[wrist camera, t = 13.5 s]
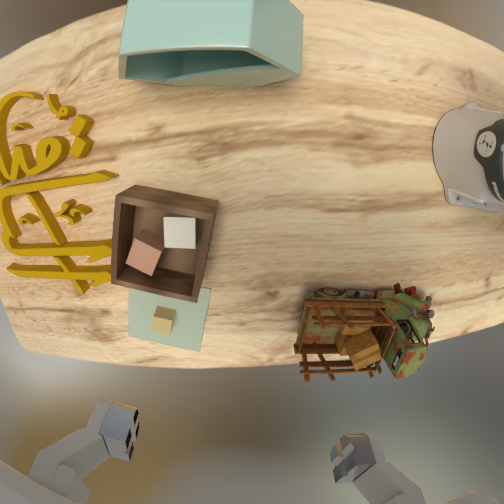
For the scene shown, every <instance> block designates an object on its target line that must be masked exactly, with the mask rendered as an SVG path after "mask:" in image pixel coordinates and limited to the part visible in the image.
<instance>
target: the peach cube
mask: <svg viewBox="0 0 504 504" xmlns="http://www.w3.org/2000/svg"><path fill="white" fill-rule="evenodd" d="M164 250H165V244H164V238H162V237H160V236H158V235H156V234H154V233H152V232H150V231H148V230H146V229H143V230H142V231H141V232H140V233H139V234H138V235H137V236H136V237H135V238H134V241H133V244H132V247H131V249H130V252H129V255H128V258H127V261H126V264H128V265H130V266H132V267H134V268H136V269H138V270H140V271H142V272H144V273H146V274H148V275H150V276H152V274H153V273H154V271H155V269H156V268H157V266H158V264H159V262H160V260H161V257H162V255H163V253H164Z"/></svg>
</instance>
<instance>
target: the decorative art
mask: <svg viewBox="0 0 504 504" xmlns="http://www.w3.org/2000/svg"><path fill="white" fill-rule="evenodd" d="M22 97H30V98H35V99H44V98H43V96H42V95H40V94H37V93H33V92H14V93H10V94H8V95H6V96H5V97H3V98H2V99H1V100H0V184H2V185H3V184H5V183H8V182H10V180H16V179H19V178H22V177H25V173H26V174H28V175H36V174H39V173H42V172H45V171H47V170H49V169H51V168H53V167H55V166H57V165H58V164H59V163H60V162H62V161H63V160H64V159H65V158H66V157H67V155H68V153H70V154H71V155H73V156H74V157H75V158H77V159H79V158H83V157H86V156H87V154H88V153H89V151H90V149H91V147H92V145H93V143H94V141H92V140H91V139H90V138H88V137H87V136H86V135H87V134H88V132H89V131H90V129H91V127H92V125H93V123H94V121H93V120H92V119H91V118H89V117H88V116H87V115H79V114H78V115H77V117H76V119H75V121H74V123H73V125H72V126H71V128H70V129H69V132H70V133H71V134H73V135H74V136H76V139H75V141H74V143H73V145H72V147H71V149H70V143H69V141H68V140H67V139H66V138H64V137H61V136H54V137H46V138H43V139H42V140H40V141H39V143H38V145H37V148H36V155H37V163H38V164H37V165H36V163H35V160H34V157H33V154H32V150H31V146H30V145H26V144H19V145H14V151H13V158H12V157H11V154H10V151H9V147H8V142H7V136H6V123H7V117H8V114H9V111H10V109H11V108H12V106H13V105H14V103H15V102H16V101H17V100H19V99H20V98H22ZM47 98H48V104H49V107H50V110H51V111H52V112H53V113H54V114H56V115H57V116H56V117H57V118H58V119H59V120H68V118H69V116H75V115H76V109H75V108H74V107H71V106H61V105H60V103H59V100H58V95H55V94H48V96H47ZM26 128H33V126H32V125H30V124H28V123H19V124H13V125H12V127H11V130H12V131H17V130H25V129H26ZM116 176H118V174H115V173H112V172H109V171H106V170H103V171H99V172H95V173H89V174H82V175H74V176H66V177H59V178H52V179H45V180H39V181H33V182H27V183H21V184H16V185H11V186H8V187H5V188H3V189H1V190H0V222H1V224H2V226H3V228H4V231H3V233H2V241H3V244H4V246H5V247H6V248H7V249H8V250H9V251H10V252H12V253H13V254H16V255H19V256H54V258H55V259H56V261H57V262H58V263H59V264H60V266H57V265H20V264H15V263H13V264H11V265H10V266H9V267H7V268H6V269H7V270H9V271H10V272H11V273H13V274H15V275H17V276H20V277H30V278H50V279H71V281H72V282H73V284H74V285H75V286H76V288H77V290H78V291H79V292H81V293H83V294H84V293H85V292H86V291H87V290H88V289H89V287H90V286H92V287H94V286H97V285H100V284H103V283H106V282H109V281H111V265H105V266H76V265H75V263H74V262H73V261H72V259H71V258H70V257H69V256H70V255H92V256H91V257H90V258H89V259H88V260H87V261H86V262H90V263H91V262H94V261H96V260H99V259H101V258H104V257H107V256H109V255H112V240H111V239H109V240H103V241H84V242H66V241H67V239H66V237H65V235H64V233H63V231H62V229H61V228H60V226H59V224H58V222H57V220H56V218H55V217H54V215H53V213H52V211H51V209H50V208H49V206H48V204H47V203H46V201H45V200H44V198H43V196H42V195H41V194H40V192H39V191H40V190H46V189H52V188H58V187H65V186H72V185H79V184H87V183H95V182H101V181H105V180H108V179H110V178H113V177H116ZM28 192H30V193H28ZM21 193H27V194H26V195H27V197H28V198H29V200H30V201H31V203H32V204H33V206H34V208H35V209H36V211H37V213H38V214H39V216H40V218H41V220H42V222H43V223H44V225H45V227H46V229H47V230H48V232H49V234H50V236H51V237H52V239H53V241H54V243H36V244H19V242H18V240H17V236H19V235H21V234H22V233H21V231H20V229H19V227H18V225H17V223H16V220H15V218H14V215H13V212H12V209H11V204H10V199H11V196H12V195H15V194H21ZM75 204H76V200H74V199H72V200H70V201H68V202H65V203H63V204H62V206H61V207H62V210H61V211H60V212H58V213H56V214H55V216H60V217H64V218H67V219H68V220H69V221H70V223H69V224H70V225H73V224H75V223H76V222H78V221H80V220H81V216H80V215H79V214H80V213H82V214H84V215H87V214H88V213H90V212H92V211H93V210H92V209H91V208H90V207H88V206H86V205H83V204H79V205H77V206H75V207H73V206H74V205H75ZM72 207H73V208H72ZM71 208H72V209H71ZM69 210H70V211H69ZM39 220H40V219H39V218H38V217H37V216H35V215H34V214H30V213H29V214H26V215H24V216H22V217H20V218H19V219H18V221H19V223H20V224H25V223H27V222H29V223H30V224H34V223H36V222H38V221H39ZM86 280H93V281H92V282H91V283H90V285H89V284H88V282H87V281H86Z"/></svg>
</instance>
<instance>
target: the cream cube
mask: <svg viewBox="0 0 504 504" xmlns="http://www.w3.org/2000/svg"><path fill="white" fill-rule="evenodd" d="M163 220H164V244H165V248H188V249H196V246H197V243H198V241H199V238H200V218H196V217H191V216H186V215H181V214H176V213H171V212H168V213H167V214H166V215H165V216H164V217H163Z"/></svg>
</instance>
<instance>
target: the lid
mask: <svg viewBox="0 0 504 504" xmlns="http://www.w3.org/2000/svg"><path fill="white" fill-rule="evenodd" d="M210 292H211V288H206V287H201V289H200V293H199V297H198V301H197V303H193V302H189V301H184V300H179V299H175V298H170V297H166V296H161V295H157V294H153V293H148V292H144V291H140V290H136V289H132V288H129V336H132V337H136V338H140V339H144V340H148V341H152V342H156V343H160V344H165V345H169V346H174V347H178V348H183V349H188V350H193V351H198V352H199V351H200V346H201V340H202V335H203V329H204V324H205V318H206V313H207V308H208V303H209V297H210Z"/></svg>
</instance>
